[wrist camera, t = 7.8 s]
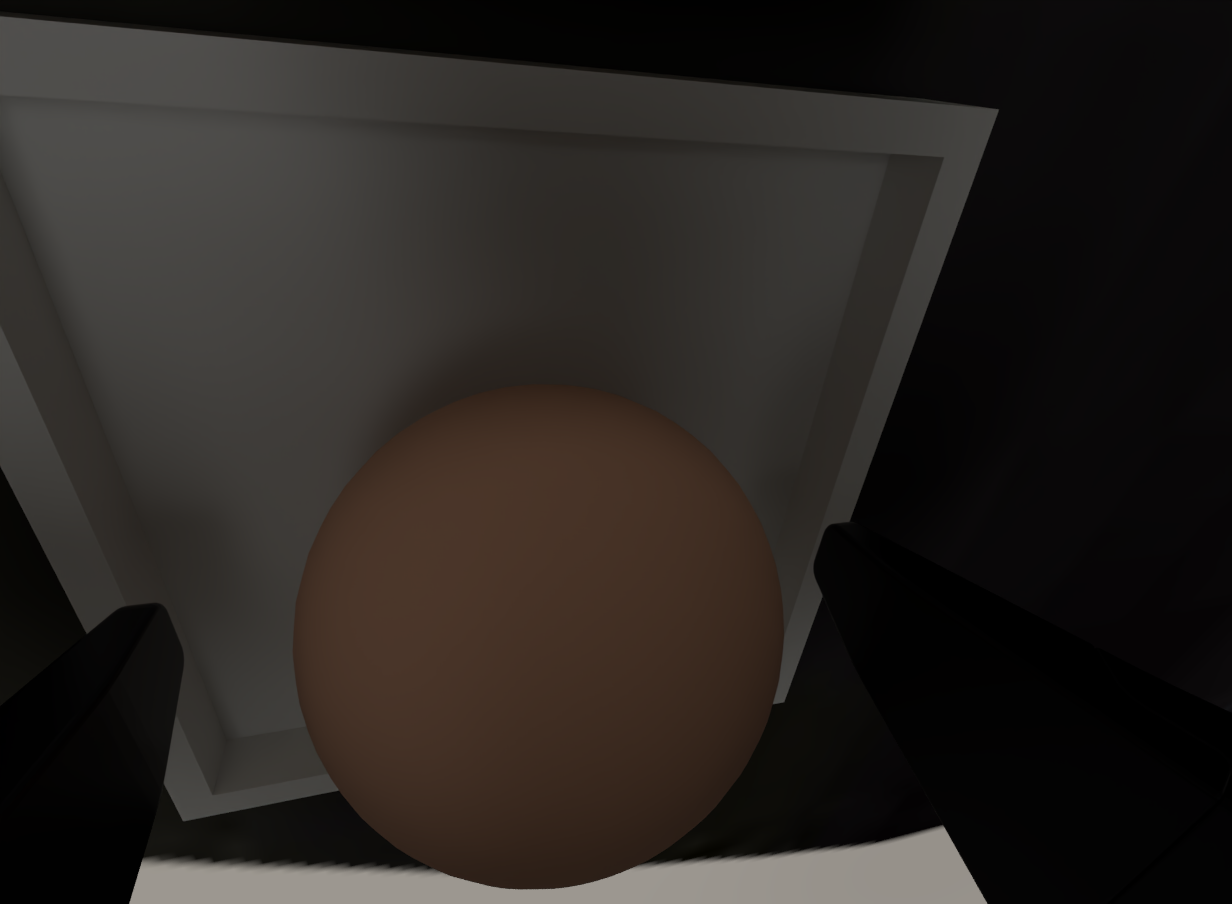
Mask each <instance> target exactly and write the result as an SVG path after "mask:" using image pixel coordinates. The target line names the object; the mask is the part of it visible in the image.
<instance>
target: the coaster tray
mask: <svg viewBox="0 0 1232 904" xmlns="http://www.w3.org/2000/svg"><path fill="white" fill-rule="evenodd" d="M998 111H999V110H998V109H991V108H984V107H977V106H970V105H963V104H956V103H949V102H942V101H935V100H928V99H920V98H909V97H899V96H888V95H878V94H867V93H857V92H846V91H836V90H825V89H815V88H804V87H794V86H783V85H773V84H762V83H752V82H741V81H731V80H720V79H710V78H699V77H689V76H678V75H668V74H657V73H647V72H636V71H626V70H615V69H605V68H594V67H584V66H573V65H563V64H552V63H542V62H531V61H521V60H510V59H500V58H489V57H479V56H468V55H458V54H447V53H436V52H426V51H415V50H405V49H394V48H384V47H373V46H363V45H352V44H342V43H331V42H321V41H310V40H300V39H289V38H279V37H268V36H258V35H247V34H237V33H226V32H216V31H205V30H195V29H184V28H174V27H163V26H153V25H142V24H132V23H121V22H111V21H100V20H90V19H79V18H69V17H58V16H48V15H37V14H27V13H16V12H6V11H0V467H1V469H2V470H3V472H4V474H5V476H6V478H7V480H8V482H9V484H10V486H11V488H12V490H13V492H14V494H15V496H16V498H17V500H18V501H19V503H20V505H21V507H22V509H23V511H24V513H25V515H26V517H27V519H28V521H29V523H30V525H31V527H32V529H33V531H34V533H35V534H36V536H37V538H38V540H39V542H40V544H41V546H42V548H43V550H44V552H45V554H46V556H47V558H48V560H49V562H50V564H51V566H52V567H53V569H54V571H55V573H56V575H57V577H58V579H59V581H60V583H61V585H62V587H63V589H64V591H65V593H66V595H67V597H68V599H69V600H70V602H71V604H72V606H73V608H74V610H75V612H76V614H77V616H78V618H79V620H80V622H81V624H82V626H83V628H84V630H85V631H86V633H89V632H90V631H91V630H92V629H93V628H95V627H96V626H97V625H98V624H99V623H101V622H102V621H103V620H104V619H105V618H106V617H108V616H109V615H110V614H111V613H112V612H114V611H115V610H117V609H118V608H120V607H124V606H128V605H137V604H145V603H160V604H162V605H163V606H164V607H165V608H166V609H167V611H168V613H169V616H170V618H171V621H172V623H173V626H174V628H175V630H176V633H177V635H178V638H179V640H180V643H181V645H182V648H183V652H184V669H183V675H182V681H181V687H180V693H179V699H178V704H177V710H176V716H175V722H174V728H173V734H172V739H171V745H170V751H169V757H168V763H167V768H166V774H165V779H164V785H165V787H166V789H167V791H168V793H169V794H170V796H171V798H172V800H173V802H174V804H175V806H176V808H177V810H178V812H179V814H180V816H181V818H182V820H183V821H187V820H192V819H197V818H202V817H207V816H213V815H218V814H223V813H228V812H233V811H238V810H243V809H248V808H253V807H258V806H263V805H268V804H273V803H278V802H283V801H288V800H293V799H298V798H303V797H308V796H313V795H318V794H323V793H328V792H333V791H338V790H339V789H338V788H337V787H336V785H335V784H334V782H333V781H332V779H331V778H330V776H329V774H328V772H327V771H326V769H325V767H324V765H323V763H322V761H321V760H320V758H319V756H318V754H317V752H316V750H315V747H314V745H313V742H312V740H311V738H310V735H309V733H308V730H307V726H306V723H305V720H304V717H303V714H302V711H301V707H300V704H299V698H298V692H297V686H296V679H295V670H294V662H293V634H294V619H295V606H296V599H297V595H298V591H299V587H300V583H301V579H302V575H303V572H304V568H305V565H306V561H307V557H308V554H309V551H310V549H311V547H312V545H313V542H314V540H315V538H316V536H317V534H318V531H319V529H320V527H321V525H322V523H323V521H324V519H325V518H326V516H327V514H328V512H329V510H330V508H331V507H332V505H333V504H334V502H335V501H336V499H337V498H338V496H339V495H340V493H341V492H342V490H343V489H344V487H345V486H346V485H347V483H348V482H349V481H350V480H351V479H352V478H353V477H354V475H355V474H356V473H357V472H358V471H359V470H360V469H361V468H362V466H363V465H364V464H365V463H366V462H367V461H368V460H369V459H370V458H371V457H372V455H373V454H374V453H375V452H376V451H377V450H379V449H380V448H381V447H382V446H383V445H385V444H386V443H387V442H388V441H389V440H390V439H392V438H393V437H394V436H395V435H396V434H398V433H399V432H401V431H402V430H404V429H405V428H407V427H409V426H410V425H412V424H413V423H415V422H416V421H418V420H419V419H421V418H422V417H424V416H426V415H428V414H430V413H432V412H434V411H436V410H438V409H440V408H442V407H444V406H446V405H449V404H451V403H453V402H455V401H458V400H461V399H464V398H467V397H469V396H472V395H475V394H478V393H482V392H486V391H490V390H495V389H499V388H504V387H511V386H520V385H530V384H556V385H571V386H579V387H586V388H593V389H597V390H601V391H605V392H608V393H612V394H616V395H619V396H622V397H624V398H626V399H629V400H631V401H634V402H636V403H638V404H641V405H643V406H645V407H648V408H650V409H652V410H655V411H657V412H658V413H660V414H662V415H663V416H665V417H667V418H668V419H670V420H671V421H673V422H675V423H676V424H678V425H679V426H681V427H682V428H683V429H685V430H686V431H687V432H689V433H690V434H691V435H693V436H694V437H695V438H696V439H697V440H698V441H700V442H701V443H702V444H703V445H704V446H705V447H707V448H708V449H709V450H710V451H711V452H712V453H713V454H714V455H715V457H716V458H717V459H718V460H719V461H720V462H721V463H722V464H723V466H724V467H725V468H726V469H727V470H728V472H729V473H730V474H731V475H732V476H733V478H734V479H735V480H736V481H737V483H738V484H739V485H740V487H741V489H742V490H743V492H744V494H745V495H746V497H747V499H748V500H749V502H750V504H751V505H752V507H753V509H754V511H755V513H756V514H757V516H758V518H759V520H760V522H761V524H762V527H763V529H764V532H765V534H766V537H767V540H768V542H769V545H770V548H771V551H772V554H773V557H774V560H775V564H776V568H777V573H778V578H779V582H780V587H781V594H782V603H783V619H784V643H783V655H782V662H781V670H780V678H779V683H778V687H777V691H776V694H775V698H774V701H773V704H777V703H782V702H784V701H785V698H786V695H787V693H788V690H789V687H790V684H791V682H792V679H793V676H794V673H795V671H796V668H797V665H798V662H799V659H800V657H801V654H802V651H803V648H804V646H805V643H806V640H807V637H808V635H809V632H810V629H811V626H812V624H813V621H814V618H815V615H816V613H817V610H818V607H819V604H820V602H821V599H822V593H821V591H820V589H819V586H818V584H817V582H816V580H815V577H814V572H813V563H814V560H815V557H816V554H817V551H818V548H819V545H820V542H821V539H822V536H823V533H824V531H825V529H826V528H827V526H828V525H830V524H833V523H841V522H850V519H851V516H852V513H853V511H854V508H855V505H856V502H857V500H858V497H859V494H860V491H861V489H862V486H863V483H864V480H865V478H866V475H867V472H868V469H869V467H870V464H871V461H872V458H873V455H874V453H875V450H876V447H877V444H878V442H879V439H880V436H881V433H882V431H883V428H884V425H885V422H886V420H887V417H888V414H889V411H890V409H891V406H892V403H893V400H894V398H895V395H896V392H897V389H898V387H899V384H900V381H901V378H902V376H903V373H904V370H905V367H906V364H907V362H908V359H909V356H910V353H911V351H912V348H913V345H914V342H915V340H916V337H917V334H918V331H919V329H920V326H921V323H922V320H923V318H924V315H925V312H926V309H927V307H928V304H929V301H930V298H931V296H932V293H933V290H934V287H935V285H936V282H937V279H938V276H939V274H940V271H941V268H942V265H943V262H944V260H945V257H946V254H947V251H948V249H949V246H950V243H951V240H952V238H953V235H954V232H955V229H956V227H957V224H958V221H959V218H960V216H961V213H962V210H963V207H964V205H965V202H966V199H967V196H968V194H969V191H970V188H971V185H972V183H973V180H974V177H975V174H976V172H977V169H978V166H979V163H980V160H981V158H982V155H983V152H984V149H985V147H986V144H987V141H988V138H989V136H990V133H991V130H992V127H993V125H994V122H995V119H996V116H997V114H998Z"/></svg>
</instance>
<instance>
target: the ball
mask: <svg viewBox="0 0 1232 904" xmlns="http://www.w3.org/2000/svg"><path fill="white" fill-rule="evenodd" d="M783 643H784V619H783V603H782V594H781V587H780V582H779V578H778V573H777V568H776V564H775V560H774V557H773V554H772V551H771V548H770V545H769V542H768V540H767V537H766V534H765V532H764V529H763V527H762V524H761V522H760V520H759V518H758V516H757V514H756V513H755V511H754V509H753V507H752V505H751V504H750V502H749V500H748V499H747V497H746V495H745V494H744V492H743V490H742V489H741V487H740V485H739V484H738V483H737V481H736V480H735V479H734V478H733V476H732V475H731V474H730V473H729V472H728V470H727V469H726V468H725V467H724V466H723V464H722V463H721V462H720V461H719V460H718V459H717V458H716V457H715V455H714V454H713V453H712V452H711V451H710V450H709V449H708V448H707V447H705V446H704V445H703V444H702V443H701V442H700V441H698V440H697V439H696V438H695V437H694V436H693V435H691V434H690V433H689V432H687V431H686V430H685V429H683V428H682V427H681V426H679V425H678V424H676V423H675V422H673V421H671V420H670V419H668V418H667V417H665V416H663V415H662V414H660V413H658V412H657V411H655V410H652V409H650V408H648V407H645V406H643V405H641V404H638V403H636V402H634V401H631V400H629V399H626V398H624V397H622V396H619V395H616V394H612V393H608V392H605V391H601V390H597V389H593V388H586V387H579V386H571V385H556V384H530V385H520V386H511V387H504V388H499V389H495V390H490V391H486V392H482V393H478V394H475V395H472V396H469V397H467V398H464V399H461V400H458V401H455V402H453V403H451V404H449V405H446V406H444V407H442V408H440V409H438V410H436V411H434V412H432V413H430V414H428V415H426V416H424V417H422V418H421V419H419V420H418V421H416V422H415V423H413V424H412V425H410V426H409V427H407V428H405V429H404V430H402V431H401V432H399V433H398V434H396V435H395V436H394V437H393V438H392V439H390V440H389V441H388V442H387V443H386V444H385V445H383V446H382V447H381V448H380V449H379V450H377V451H376V452H375V453H374V454H373V455H372V457H371V458H370V459H369V460H368V461H367V462H366V463H365V464H364V465H363V466H362V468H361V469H360V470H359V471H358V472H357V473H356V474H355V475H354V477H353V478H352V479H351V480H350V481H349V482H348V483H347V485H346V486H345V487H344V489H343V490H342V492H341V493H340V495H339V496H338V498H337V499H336V501H335V502H334V504H333V505H332V507H331V508H330V510H329V512H328V514H327V516H326V518H325V519H324V521H323V523H322V525H321V527H320V529H319V531H318V534H317V536H316V538H315V540H314V542H313V545H312V547H311V549H310V551H309V554H308V557H307V561H306V565H305V568H304V572H303V575H302V579H301V583H300V587H299V591H298V595H297V599H296V606H295V619H294V634H293V662H294V670H295V679H296V686H297V692H298V698H299V704H300V707H301V711H302V714H303V717H304V720H305V723H306V726H307V730H308V733H309V735H310V738H311V740H312V742H313V745H314V747H315V750H316V752H317V754H318V756H319V758H320V760H321V761H322V763H323V765H324V767H325V769H326V771H327V772H328V774H329V776H330V778H331V779H332V781H333V782H334V784H335V785H336V787H337V788H338V789H339V791H340V792H341V794H342V795H343V796H344V797H345V799H346V800H347V801H348V802H349V804H350V805H351V806H352V807H353V808H354V810H355V811H356V812H357V813H358V814H359V816H360V817H361V818H362V819H363V820H364V821H365V822H367V823H368V824H369V825H370V826H371V827H372V828H373V829H374V830H375V831H377V832H378V833H379V834H380V835H381V836H383V837H384V838H385V839H386V840H388V841H389V842H390V843H391V844H393V845H394V846H395V847H396V848H398V849H399V850H401V851H403V852H404V853H406V854H407V855H409V856H410V857H412V858H414V859H416V860H418V861H420V862H422V863H424V864H426V865H428V866H430V867H432V868H434V869H436V870H438V871H440V872H443V873H445V874H448V875H450V876H453V877H457V878H460V879H464V880H468V881H472V882H476V883H480V884H484V885H487V886H492V887H499V888H506V889H555V888H564V887H570V886H577V885H582V884H586V883H590V882H594V881H597V880H600V879H604V878H607V877H610V876H613V875H615V874H618V873H621V872H623V871H626V870H628V869H630V868H633V867H635V866H637V865H639V864H641V863H643V862H645V861H647V860H649V859H650V858H652V857H654V856H656V855H657V854H659V853H661V852H662V851H664V850H665V849H667V848H668V847H670V846H671V845H672V844H674V843H675V842H676V841H678V840H679V839H680V838H681V837H683V836H684V835H685V834H686V833H688V832H689V831H690V830H691V829H693V828H694V827H695V826H696V825H697V824H698V823H700V822H701V821H702V820H703V819H704V818H705V817H706V816H707V815H708V814H709V813H710V812H711V811H712V810H713V809H714V808H715V807H716V806H717V804H718V803H719V802H720V800H721V799H722V798H723V797H724V795H725V794H726V793H727V791H728V790H729V789H730V788H731V786H732V785H733V784H734V782H735V781H736V780H737V779H738V777H739V776H740V775H741V773H742V771H743V770H744V768H745V766H746V765H747V763H748V761H749V759H750V757H751V755H752V753H753V751H754V750H755V748H756V746H757V744H758V742H759V740H760V738H761V735H762V733H763V731H764V729H765V726H766V724H767V721H768V718H769V714H770V711H771V708H772V705H773V701H774V698H775V694H776V691H777V687H778V683H779V678H780V670H781V662H782V655H783Z"/></svg>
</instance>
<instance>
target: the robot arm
mask: <svg viewBox="0 0 1232 904" xmlns="http://www.w3.org/2000/svg"><path fill="white" fill-rule="evenodd" d="M813 572H814V577H815V580H816V582H817V584H818V586H819V589H820V591H821V593H822V596H823V598H824V600H825V602H826V605H827V607H828V609H829V612H830V614H831V616H832V618H833V621H834V623H835V625H836V628H837V630H838V632H839V634H840V637H841V639H842V641H843V644H844V646H845V648H846V650H847V652H848V655H849V657H850V659H851V661H852V663H853V665H854V667H855V669H856V671H857V672H858V674H859V676H860V678H861V680H862V682H863V683H864V685H865V687H866V689H867V691H868V692H869V694H870V696H871V698H872V699H873V701H874V703H875V705H876V706H877V708H878V710H879V712H880V714H881V715H882V717H883V719H884V721H885V722H886V724H887V726H888V728H889V730H890V731H891V733H892V735H893V737H894V738H895V740H896V742H897V744H898V746H899V747H900V749H901V751H902V753H903V754H904V756H905V758H906V760H907V762H908V763H909V765H910V767H911V769H912V770H913V772H914V774H915V776H916V778H917V779H918V781H919V783H920V785H921V786H922V788H923V790H924V792H925V794H926V795H927V797H928V799H929V801H930V802H931V804H932V806H933V808H934V810H935V811H936V813H937V815H938V817H939V818H940V820H941V822H942V824H943V826H944V827H945V829H946V831H947V832H948V834H949V836H950V838H951V840H952V842H953V843H954V845H955V847H956V849H957V850H958V852H959V854H960V856H961V857H962V859H963V861H964V863H965V865H966V866H967V868H968V870H969V872H970V873H971V875H972V877H973V879H974V881H975V882H976V884H977V886H978V888H979V890H980V891H981V893H982V894H983V897H984V898H985V900H986V902H987V904H1232V713H1231V712H1229V711H1226V710H1224V709H1222V708H1220V707H1218V706H1216V705H1214V704H1211V703H1209V702H1207V701H1205V700H1203V699H1201V698H1199V697H1197V696H1194V695H1192V694H1190V693H1188V692H1186V691H1184V690H1182V689H1180V688H1177V687H1175V686H1173V685H1171V684H1169V683H1167V682H1165V681H1163V680H1161V679H1159V678H1157V677H1155V676H1153V675H1151V674H1149V673H1147V672H1145V671H1143V670H1141V669H1139V668H1137V667H1135V666H1133V665H1131V664H1129V663H1127V662H1125V661H1123V660H1121V659H1119V658H1118V657H1116V656H1114V655H1112V654H1110V653H1108V652H1106V651H1104V650H1102V649H1100V648H1094V646H1093V645H1092V644H1090V643H1088V642H1086V641H1084V640H1083V639H1081V638H1079V637H1077V636H1075V635H1073V634H1071V633H1069V632H1067V631H1065V630H1063V629H1061V628H1059V627H1057V626H1055V625H1053V624H1052V623H1050V622H1048V621H1046V620H1044V619H1042V618H1040V617H1038V616H1036V615H1034V614H1032V613H1030V612H1028V611H1026V610H1024V609H1022V608H1021V607H1019V606H1017V605H1015V604H1013V603H1011V602H1009V601H1007V600H1005V599H1003V598H1001V597H999V596H997V595H995V594H993V593H991V592H990V591H988V590H986V589H984V588H982V587H980V586H978V585H976V584H974V583H972V582H970V581H968V580H966V579H964V578H962V577H960V576H959V575H957V574H955V573H953V572H951V571H949V570H947V569H945V568H943V567H941V566H939V565H937V564H935V563H933V562H931V561H929V560H928V559H926V558H924V557H922V556H920V555H918V554H916V553H914V552H912V551H910V550H908V549H906V548H904V547H902V546H900V545H899V544H897V543H895V542H893V541H891V540H889V539H887V538H885V537H883V536H881V535H879V534H877V533H875V532H873V531H871V530H869V529H868V528H866V527H864V526H862V525H860V524H858V523H856V522H841V523H833V524H830V525H828V526H827V528H826V529H825V531H824V533H823V536H822V539H821V542H820V545H819V548H818V551H817V554H816V557H815V560H814V563H813ZM183 669H184V652H183V648H182V645H181V643H180V640H179V638H178V635H177V633H176V630H175V628H174V626H173V623H172V621H171V618H170V616H169V613H168V611H167V609H166V608H165V607H164V606H163V605H162V604H160V603H145V604H137V605H128V606H124V607H120V608H118V609H117V610H115V611H114V612H112V613H111V614H110V615H109V616H108V617H106V618H105V619H104V620H103V621H102V622H101V623H99V624H98V625H97V626H96V627H95V628H93V629H92V630H91V631H90V632H89V633H87V634H86V635H85V636H84V637H83V638H81V639H80V640H79V641H78V642H77V643H75V644H74V645H73V646H72V647H71V648H69V649H68V650H67V651H66V652H65V653H63V654H62V655H61V656H60V657H59V658H57V659H56V660H55V661H54V662H53V663H51V664H50V665H49V666H48V667H47V668H45V669H44V670H43V671H42V672H41V673H39V674H38V675H37V676H36V677H35V678H33V679H32V680H31V681H30V682H29V683H27V684H26V685H25V686H24V687H23V688H21V689H20V690H19V691H18V692H17V693H15V694H14V695H13V696H12V697H11V698H9V699H8V700H7V701H6V702H5V703H3V704H2V705H1V706H0V904H129V902H130V899H131V896H132V892H133V889H134V886H135V882H136V879H137V876H138V872H139V869H140V866H141V862H142V859H143V856H144V852H145V849H146V846H147V842H148V839H149V836H150V832H151V829H152V826H153V822H154V819H155V815H156V812H157V808H158V804H159V801H160V797H161V793H162V789H163V784H164V779H165V774H166V768H167V763H168V757H169V751H170V745H171V739H172V734H173V728H174V722H175V716H176V710H177V704H178V699H179V693H180V687H181V681H182V675H183Z"/></svg>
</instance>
